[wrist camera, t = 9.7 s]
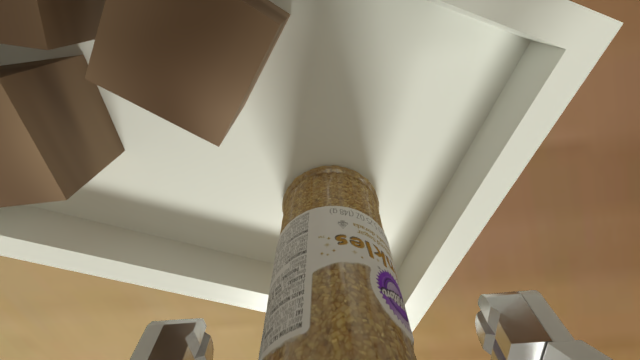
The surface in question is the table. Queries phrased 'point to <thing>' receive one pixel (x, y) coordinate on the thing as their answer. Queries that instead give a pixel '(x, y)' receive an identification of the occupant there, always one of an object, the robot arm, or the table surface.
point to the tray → (327, 145)
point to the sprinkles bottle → (334, 276)
